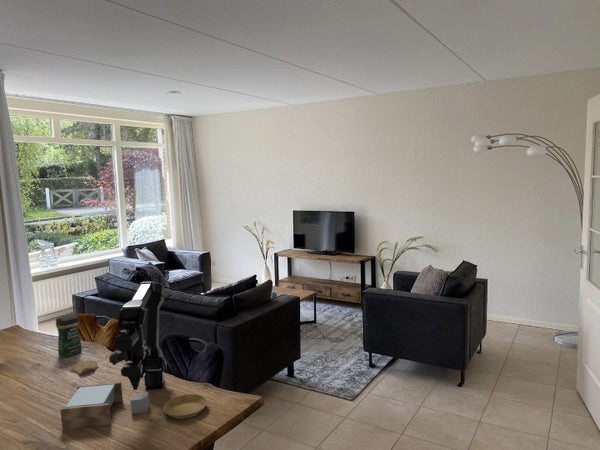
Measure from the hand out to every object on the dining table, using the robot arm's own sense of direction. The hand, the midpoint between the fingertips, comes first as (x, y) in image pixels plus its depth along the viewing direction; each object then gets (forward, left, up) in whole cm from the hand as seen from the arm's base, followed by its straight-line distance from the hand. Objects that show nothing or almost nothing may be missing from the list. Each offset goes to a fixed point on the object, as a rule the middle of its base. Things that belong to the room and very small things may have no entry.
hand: (138, 383), depth 162 cm
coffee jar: (+44, -61, -10) cm, 76 cm away
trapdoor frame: (+16, 0, -9) cm, 18 cm away
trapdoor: (+16, 0, -7) cm, 18 cm away
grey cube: (0, 0, -10) cm, 10 cm away
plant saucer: (-16, +4, -10) cm, 19 cm away
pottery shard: (+31, -40, -10) cm, 51 cm away
